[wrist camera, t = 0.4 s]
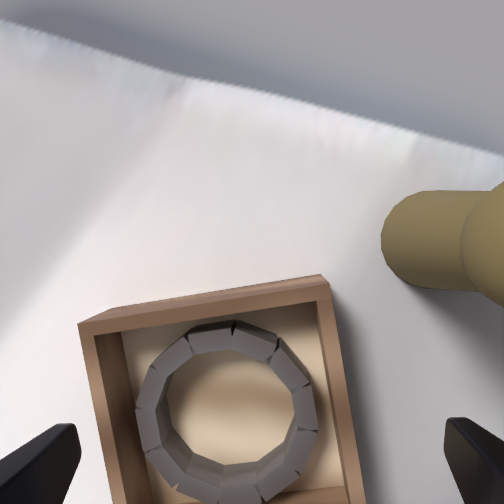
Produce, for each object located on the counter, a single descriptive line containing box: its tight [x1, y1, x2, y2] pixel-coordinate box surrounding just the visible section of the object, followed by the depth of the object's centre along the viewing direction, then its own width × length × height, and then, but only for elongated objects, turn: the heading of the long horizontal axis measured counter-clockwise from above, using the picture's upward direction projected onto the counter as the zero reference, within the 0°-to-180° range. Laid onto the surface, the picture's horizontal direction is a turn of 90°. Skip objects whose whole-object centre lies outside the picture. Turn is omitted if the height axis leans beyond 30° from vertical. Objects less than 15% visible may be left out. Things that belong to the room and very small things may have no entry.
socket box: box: [77, 274, 366, 504], centre depth 21 cm, size 14×14×4 cm
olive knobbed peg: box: [381, 182, 504, 307], centre depth 16 cm, size 6×6×11 cm
